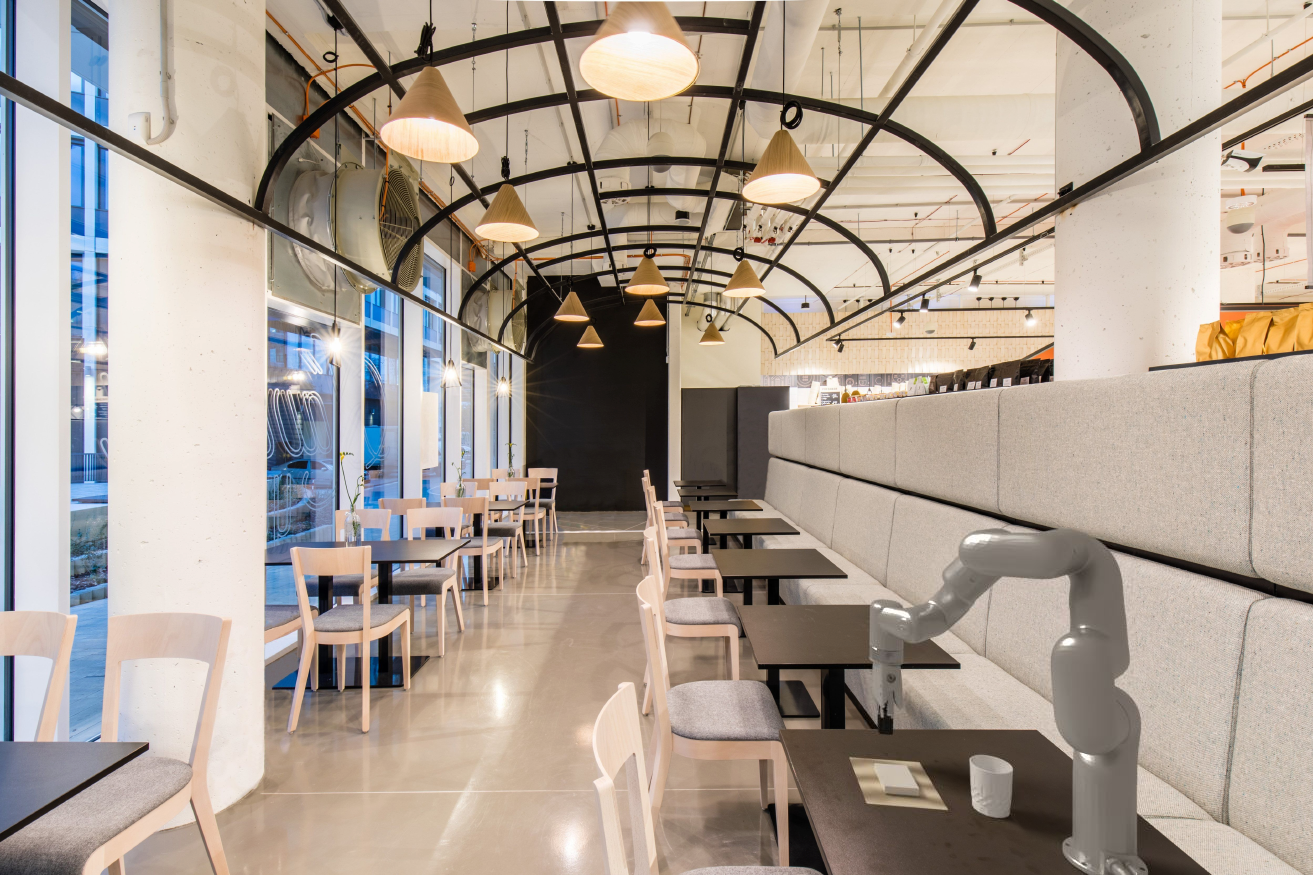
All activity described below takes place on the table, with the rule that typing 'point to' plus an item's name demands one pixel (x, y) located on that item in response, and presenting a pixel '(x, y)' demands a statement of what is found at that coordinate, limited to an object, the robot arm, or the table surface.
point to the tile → (896, 780)
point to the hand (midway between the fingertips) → (885, 732)
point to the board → (877, 796)
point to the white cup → (991, 785)
